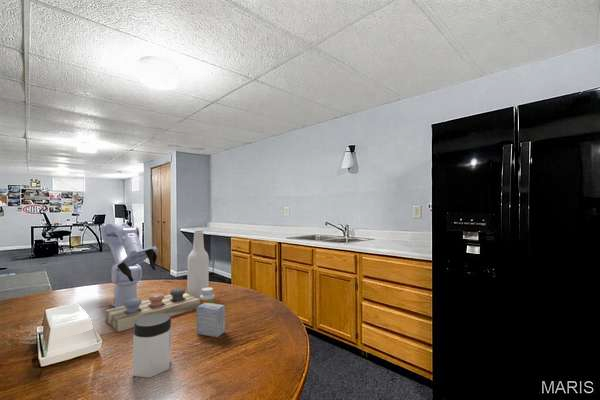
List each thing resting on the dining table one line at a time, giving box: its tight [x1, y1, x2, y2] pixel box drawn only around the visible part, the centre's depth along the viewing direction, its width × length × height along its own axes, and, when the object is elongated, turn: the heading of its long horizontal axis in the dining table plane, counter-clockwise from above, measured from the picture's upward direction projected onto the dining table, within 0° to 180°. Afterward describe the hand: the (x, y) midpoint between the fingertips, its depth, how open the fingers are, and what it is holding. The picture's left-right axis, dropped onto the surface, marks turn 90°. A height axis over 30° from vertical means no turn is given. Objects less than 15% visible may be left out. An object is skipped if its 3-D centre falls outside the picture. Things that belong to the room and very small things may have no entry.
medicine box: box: [196, 303, 226, 338], centre depth 88 cm, size 8×4×9 cm, turn 71°
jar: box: [132, 314, 172, 379], centre depth 69 cm, size 9×8×12 cm
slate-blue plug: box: [124, 297, 142, 315], centre depth 97 cm, size 5×5×5 cm
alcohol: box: [186, 228, 210, 299], centre depth 123 cm, size 9×9×30 cm
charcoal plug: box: [169, 288, 186, 302], centre depth 110 cm, size 5×5×5 cm
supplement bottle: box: [200, 286, 216, 305], centre depth 103 cm, size 5×5×10 cm
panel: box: [105, 292, 200, 333], centre depth 104 cm, size 14×28×4 cm, turn 139°
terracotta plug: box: [148, 292, 165, 308], centre depth 103 cm, size 5×5×5 cm
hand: (142, 274), depth 98 cm, fingers open, 7 cm apart
